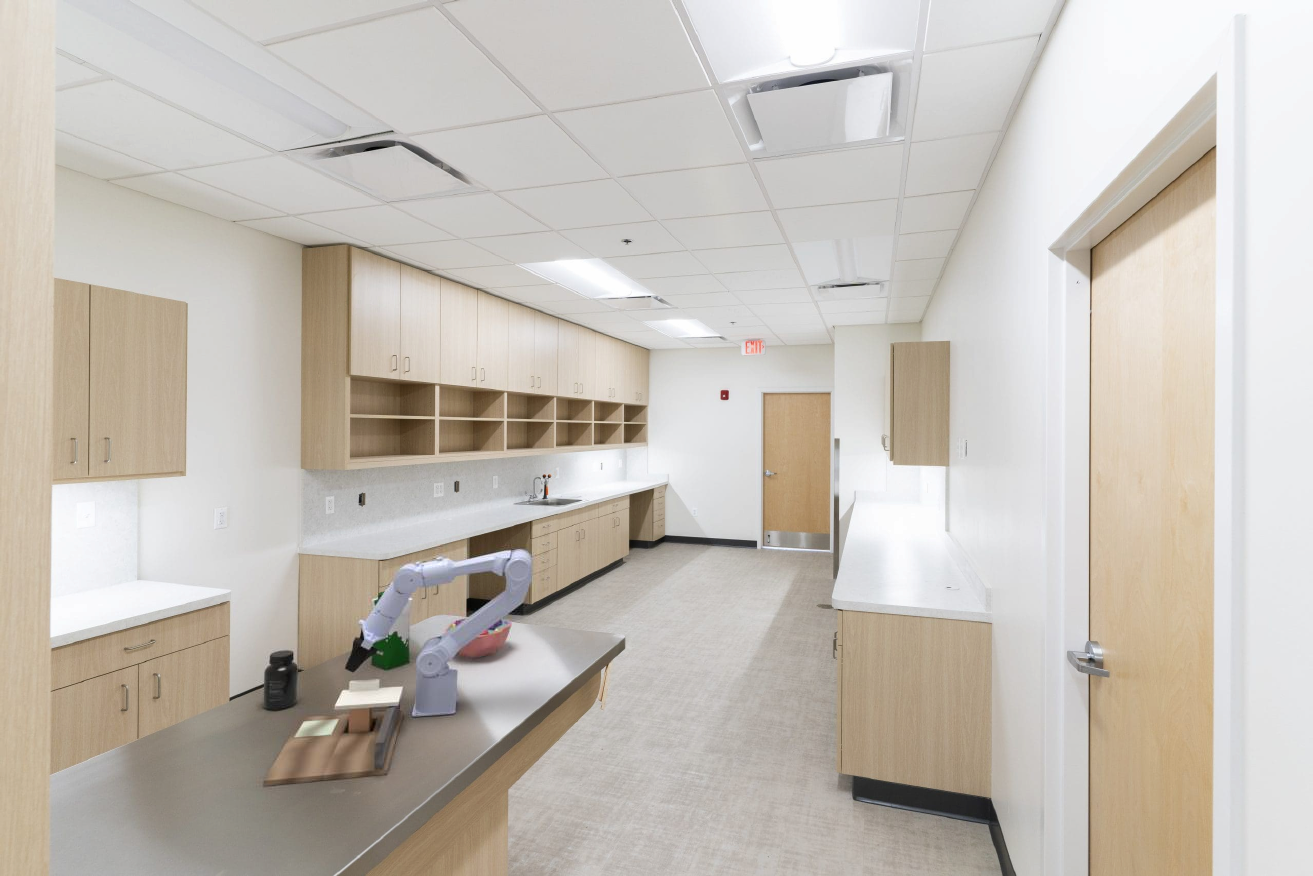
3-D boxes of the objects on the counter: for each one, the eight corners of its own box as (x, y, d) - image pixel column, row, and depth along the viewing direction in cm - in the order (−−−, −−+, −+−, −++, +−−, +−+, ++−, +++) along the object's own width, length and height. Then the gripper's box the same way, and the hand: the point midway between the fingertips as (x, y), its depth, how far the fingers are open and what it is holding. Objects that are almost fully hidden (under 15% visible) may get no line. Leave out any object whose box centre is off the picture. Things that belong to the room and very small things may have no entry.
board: (403, 714, 145) (404, 687, 145) (386, 774, 121) (387, 742, 121) (301, 722, 140) (302, 693, 140) (263, 786, 116) (264, 752, 116)
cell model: (429, 656, 181) (431, 617, 181) (485, 638, 197) (486, 602, 197) (468, 671, 171) (469, 630, 171) (523, 651, 188) (524, 613, 187)
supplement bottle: (304, 701, 150) (305, 651, 150) (278, 713, 143) (279, 661, 143) (282, 696, 152) (283, 646, 152) (256, 707, 146) (257, 656, 145)
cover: (403, 689, 143) (403, 677, 143) (398, 705, 136) (398, 692, 136) (342, 693, 140) (343, 681, 140) (334, 710, 132) (334, 696, 132)
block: (371, 725, 140) (372, 698, 140) (368, 734, 136) (369, 706, 136) (352, 726, 139) (353, 699, 139) (348, 735, 135) (349, 708, 135)
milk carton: (366, 664, 173) (368, 592, 173) (395, 655, 181) (397, 585, 180) (385, 672, 168) (388, 598, 168) (414, 662, 176) (417, 591, 175)
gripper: (376, 594, 152) (343, 642, 151) (364, 614, 138) (328, 668, 137) (402, 607, 154) (371, 656, 153) (393, 629, 140) (358, 683, 139)
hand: (352, 663), depth 145 cm, fingers open, 7 cm apart
